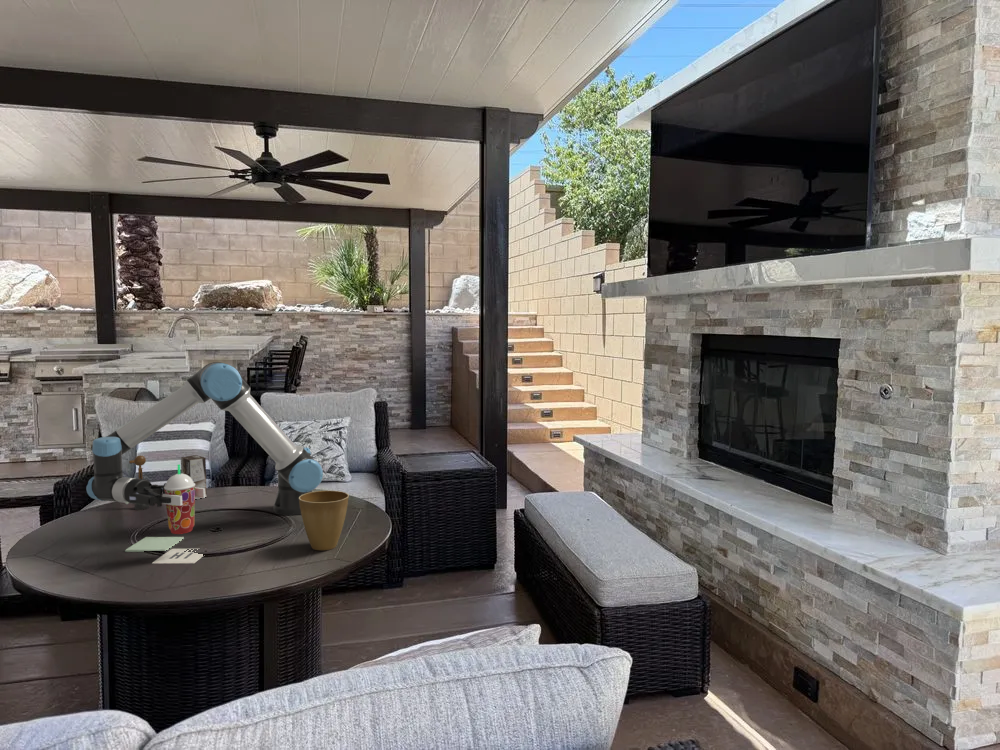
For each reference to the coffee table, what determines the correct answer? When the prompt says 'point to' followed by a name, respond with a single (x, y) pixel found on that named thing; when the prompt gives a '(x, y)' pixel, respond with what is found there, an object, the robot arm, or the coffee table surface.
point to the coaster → (154, 544)
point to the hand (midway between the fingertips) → (193, 496)
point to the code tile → (178, 557)
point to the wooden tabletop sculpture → (138, 461)
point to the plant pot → (323, 517)
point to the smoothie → (184, 514)
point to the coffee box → (195, 470)
